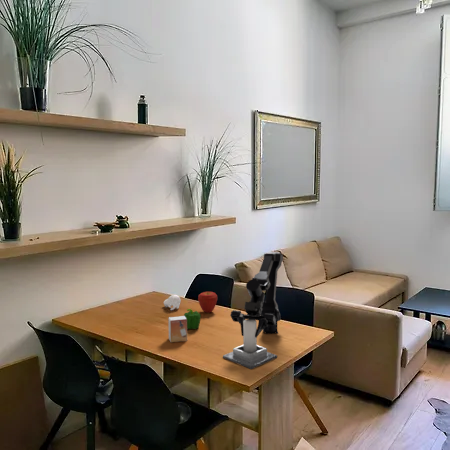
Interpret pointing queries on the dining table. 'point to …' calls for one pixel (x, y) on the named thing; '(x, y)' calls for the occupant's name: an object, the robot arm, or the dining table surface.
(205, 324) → the dining table surface
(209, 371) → the dining table surface
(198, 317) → the bell pepper
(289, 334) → the dining table surface
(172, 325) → the small box
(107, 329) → the dining table surface
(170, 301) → the white animal figurine
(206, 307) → the apple
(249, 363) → the duct collar
